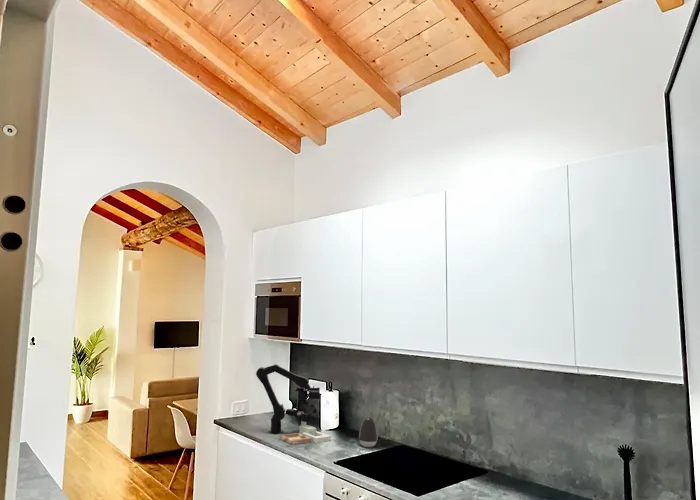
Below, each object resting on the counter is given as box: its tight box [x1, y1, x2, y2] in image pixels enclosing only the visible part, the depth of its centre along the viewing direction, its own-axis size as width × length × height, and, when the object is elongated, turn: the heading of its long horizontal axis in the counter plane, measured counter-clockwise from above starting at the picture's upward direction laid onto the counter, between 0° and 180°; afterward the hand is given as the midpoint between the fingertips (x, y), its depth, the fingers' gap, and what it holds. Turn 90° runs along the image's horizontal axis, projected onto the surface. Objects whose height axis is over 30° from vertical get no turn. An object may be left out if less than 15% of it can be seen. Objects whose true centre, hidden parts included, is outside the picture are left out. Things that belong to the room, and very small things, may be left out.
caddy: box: [298, 421, 317, 436], centre depth 297 cm, size 12×5×7 cm, turn 39°
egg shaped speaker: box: [358, 416, 379, 448], centre depth 279 cm, size 10×10×15 cm
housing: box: [302, 430, 332, 444], centre depth 289 cm, size 14×10×2 cm
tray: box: [278, 432, 313, 446], centre depth 284 cm, size 14×12×2 cm
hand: (300, 426), depth 301 cm, fingers closed on caddy
